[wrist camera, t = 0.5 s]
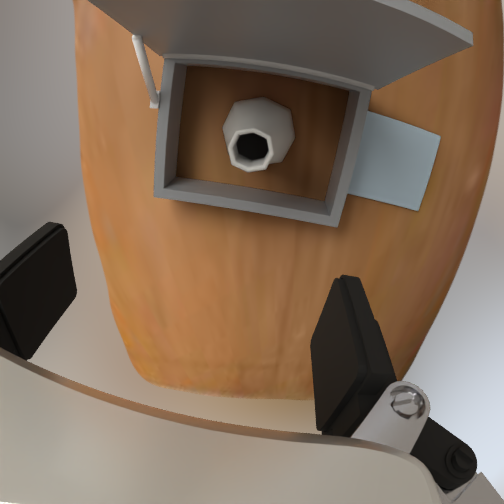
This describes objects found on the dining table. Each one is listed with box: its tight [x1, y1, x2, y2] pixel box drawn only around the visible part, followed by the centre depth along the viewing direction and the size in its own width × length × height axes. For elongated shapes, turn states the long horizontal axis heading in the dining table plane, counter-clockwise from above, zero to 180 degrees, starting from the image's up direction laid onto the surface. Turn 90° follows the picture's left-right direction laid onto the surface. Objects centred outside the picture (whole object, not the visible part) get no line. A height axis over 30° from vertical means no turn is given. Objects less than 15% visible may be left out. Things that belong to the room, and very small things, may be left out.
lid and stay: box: [88, 0, 473, 108], centre depth 17 cm, size 9×19×15 cm, turn 81°
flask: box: [222, 97, 295, 172], centre depth 24 cm, size 7×7×10 cm
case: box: [154, 54, 375, 227], centre depth 26 cm, size 15×18×5 cm
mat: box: [347, 111, 441, 211], centre depth 29 cm, size 9×9×1 cm
